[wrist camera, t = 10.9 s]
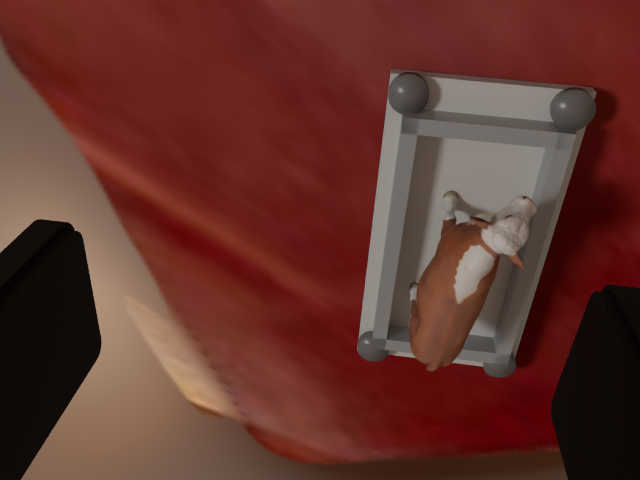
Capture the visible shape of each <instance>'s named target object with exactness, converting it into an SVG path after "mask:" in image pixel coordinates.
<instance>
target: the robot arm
mask: <svg viewBox="0 0 640 480" xmlns="http://www.w3.org/2000/svg"><path fill="white" fill-rule="evenodd" d="M100 350H101V335H100V330H99V325H98V319H97V313H96V308H95V302H94V297H93V291H92V286H91V280H90V275H89V269H88V264H87V259H86V253H85V247H84V242H83V238H82V235H81V233H79V232H78V231H75V230H74V228H73V226H72V225H71V224H70V223H68V222H59V221H50V220H42V219H40V220H36V221H34V222H33V223H32V224H31V225H30V226H29V227H27V229H25V230H24V231H23V232H22V233H21V234H20V235H19V236H18V237H17V238H16V239H15V240H14V241H13V242H11V243H10V244H9V245H8V246H7V247H6V248H5V249H4V250H3V251H2V252H1V253H0V480H21V478H22V477H23V475H24V473H25V472H26V470H27V469H28V467H29V466H30V464H31V462H32V461H33V459H34V458H35V456H36V455H37V453H38V451H39V450H40V448H41V447H42V445H43V444H44V442H45V440H46V439H47V437H48V436H49V434H50V433H51V431H52V429H53V428H54V426H55V425H56V423H57V422H58V420H59V418H60V417H61V415H62V414H63V412H64V411H65V409H66V407H67V406H68V404H69V403H70V401H71V400H72V398H73V396H74V395H75V393H76V392H77V390H78V389H79V387H80V385H81V384H82V382H83V380H84V379H85V377H86V376H87V374H88V372H89V371H90V369H91V368H92V366H93V365H94V363H95V362H96V360H97V358H98V356H99V354H100ZM551 416H552V421H553V425H554V429H555V432H556V436H557V440H558V444H559V447H560V451H561V455H562V459H563V462H564V466H565V470H566V474H567V477H568V480H640V288H635V287H627V286H618V285H606V286H605V287H604V288H603V290H602V292H599V291H595V292H593V293H592V295H591V297H590V299H589V302H588V304H587V307H586V310H585V312H584V315H583V318H582V320H581V323H580V326H579V329H578V331H577V334H576V337H575V339H574V342H573V345H572V347H571V350H570V353H569V355H568V358H567V361H566V364H565V366H564V369H563V372H562V374H561V377H560V380H559V382H558V385H557V388H556V390H555V393H554V396H553V399H552V404H551Z"/></svg>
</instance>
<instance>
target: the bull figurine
mask: <svg viewBox="0 0 640 480" xmlns="http://www.w3.org/2000/svg"><path fill="white" fill-rule="evenodd" d="M443 202H444V204H443V209H444V210H445V211H446V214H445V215H444V217H443V226H442V230H441V239H440V241H439V243H438V246H437V250H436V253H435V255H434V257H433V258H432V260H431V262H430V263H429V265H428V266H427V267H426V269H425V270H424V272H423V274H422V276H421V278H420V280H419V283H413V284H411V285H410V288H409V293H410V301H411V303H412V306H411V315H412V316H411V318H410V327H409V339H410V346H411V351H412V353H413V355H414V357H416V358H417V359H418V360H419V361H420V362H422V363H425V364H427V366H426V368H427V370H428V371H435V370H436V369H437V368H438V367H444V366H448V365H449V364H451V363H452V362H453V361H454V360H455V359H456V357H457V356H458V355H459V354H460V353H461V351H462V349H463V347H464V344H465V342H466V339H467V337H468V335H469V333H470V331H471V329H472V327H473V325H474V323H475V321H476V319H477V318H478V316H479V314H480V312H481V310H482V308H483V306H484V303H485V300H486V297H487V295H488V292H489V290H490V288H491V286H492V283H493V282H494V280H495V277H496V273H497V269H498V264H499V259H500V254H501V253H503V254H507V255H508V257H509V259H510V260H511V261H512V262H513V263H515V264H516V265H518V266H519V267H520V268H521V269H524V265H523V262H522V261H521V259H520V257H519V255H518V253H517V252H518V251H519V249H520V248H521V247H522V246H523V245H524V244H525V243H526V241H527V239H528V237H529V220H530V218H531V216H532V215H534V214H535V213H536V211H537V206H536V204H535V203H534V202H533V201H532V200H531V199H530V198H529V197H527V196H523V195H521V196H518V197H516V198H514V199H513V200H512V201H511V203H510V204H509V206H508V207H506V208H504V209H502V210H500V211H499V212H497V213H495V214H493V215H490V214H488V213H480V214H477V215H475V216H470V217H469V220H468V221H467V222H462V223H459V224H456V220H457V219H456V216H455V213H454V212H455V210H456V206H457V202H458V195H457V193H456V192H454V191H447V192H446V193H445V194H444V195H443Z"/></svg>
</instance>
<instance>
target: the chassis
mask: <svg viewBox="0 0 640 480" xmlns="http://www.w3.org/2000/svg"><path fill="white" fill-rule="evenodd" d="M596 93H597V92H596V91H595V90H594V89H593V88H592V87H582V86H572V85H561V84H550V83H539V82H528V81H518V80H507V79H496V78H485V77H474V76H464V75H453V74H442V73H431V72H420V71H410V70H399V69H391V74H390V82H389V91H388V99H387V107H386V115H385V124H384V132H383V140H382V149H381V157H380V165H379V173H378V182H377V190H376V198H375V207H374V215H373V223H372V231H371V240H370V248H369V256H368V265H367V273H366V281H365V289H364V298H363V306H362V314H361V323H360V331H359V339H358V348H357V350H358V352H359V354H360V356H361V357H363V358H364V359H366V360H369V361H380V360H382V359H384V358H385V357H386V356H387V355H388V354H389V355H397V356H405V357H413V358H416V357H414V355H413V353H412V351H411V346H410V339H409V327H410V318H411V316H412V315H411V306H412V303H411V301H410V293H409V288H410V285H411V284H413V283H419V280H420V278H421V276H422V274H423V272H424V270H425V269H426V267H427V266H428V265H429V263H430V262H431V260H432V258H433V257H434V255H435V253H436V250H437V246H438V243H439V241H440V239H441V230H442V226H443V217H444V215H445V214H446V211H445V210H444V209H443V204H444V202H443V195H444V194H445V193H446V192H447V191H454V192H456V193H457V195H458V202H457V206H456V210H455V212H454V213H455V216H456V219H457V220H456V224H459V223H462V222H467V221H468V220H469V217H470V216H475V215H477V214H480V213H488V214H490V215H493V214H495V213H497V212H499V211H500V210H502V209H504V208H506V207H508V206H509V204H510V203H511V201H512V200H513V199H514V198H516V197H518V196H521V195H523V196H527V197H529V198H530V199H531V200H532V201H533V202H534V203H535V204H536V206H537V211H536V213H535V214H534V215H532V216H531V218H530V220H529V237H528V239H527V241H526V243H525V244H524V245H523V246H522V247H521V248H520V249H519V251H518V252H517V253H518V255H519V257H520V259H521V261H522V262H523V265H524V269H521V268H520V267H519V266H518V265H516V264H515V263H513V262H512V261H511V260H510V259H509V257H508V255H507V254H503V253H501V254H500V259H499V264H498V269H497V273H496V277H495V280H494V282H493V283H492V286H491V288H490V290H489V292H488V295H487V297H486V300H485V303H484V306H483V308H482V310H481V312H480V314H479V316H478V318H477V319H476V321H475V323H474V325H473V327H472V329H471V331H470V333H469V335H468V337H467V339H466V342H465V344H464V347H463V349H462V351H461V353H460V354H459V355H458V356H457V357H456V359H455V360H454V361H453V362H452V363H459V364H467V365H475V366H483V367H484V370H485V372H486V373H487V374H488V375H490V376H493V377H498V378H499V377H506V376H508V375H510V374H512V373H513V372H514V371H515V369H516V361H515V356H516V353H517V350H518V347H519V343H520V340H521V337H522V334H523V330H524V327H525V324H526V321H527V317H528V314H529V311H530V308H531V304H532V301H533V298H534V295H535V291H536V288H537V285H538V282H539V278H540V275H541V272H542V269H543V265H544V262H545V259H546V256H547V252H548V249H549V246H550V243H551V239H552V236H553V233H554V230H555V226H556V223H557V220H558V217H559V213H560V210H561V207H562V204H563V200H564V197H565V194H566V191H567V187H568V184H569V181H570V178H571V174H572V171H573V168H574V165H575V162H576V158H577V155H578V152H579V149H580V145H581V142H582V139H583V136H584V132H585V129H586V126H587V125H588V124H589V123H590V122H591V121H592V119H593V118H594V116H595V113H596V103H595V101H594V100H595V97H596Z"/></svg>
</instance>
